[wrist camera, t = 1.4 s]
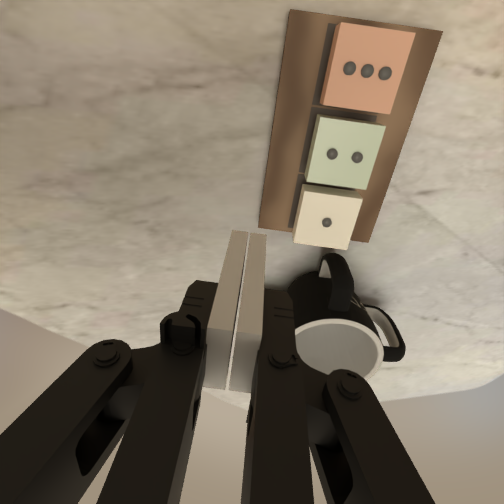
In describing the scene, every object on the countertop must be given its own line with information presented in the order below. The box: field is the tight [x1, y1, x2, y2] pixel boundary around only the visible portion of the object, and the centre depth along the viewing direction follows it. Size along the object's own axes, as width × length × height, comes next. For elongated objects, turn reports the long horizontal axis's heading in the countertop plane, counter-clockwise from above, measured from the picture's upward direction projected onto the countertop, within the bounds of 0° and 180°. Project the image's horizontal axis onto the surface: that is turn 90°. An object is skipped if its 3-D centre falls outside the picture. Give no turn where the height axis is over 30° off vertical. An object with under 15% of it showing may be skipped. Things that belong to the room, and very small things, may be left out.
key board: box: [258, 9, 443, 243], centre depth 35 cm, size 14×22×2 cm, turn 173°
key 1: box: [292, 184, 363, 250], centre depth 34 cm, size 6×6×3 cm
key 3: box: [320, 22, 416, 114], centre depth 27 cm, size 6×6×3 cm
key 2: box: [305, 114, 386, 190], centre depth 31 cm, size 6×6×3 cm
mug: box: [287, 253, 406, 381], centre depth 41 cm, size 16×16×12 cm
